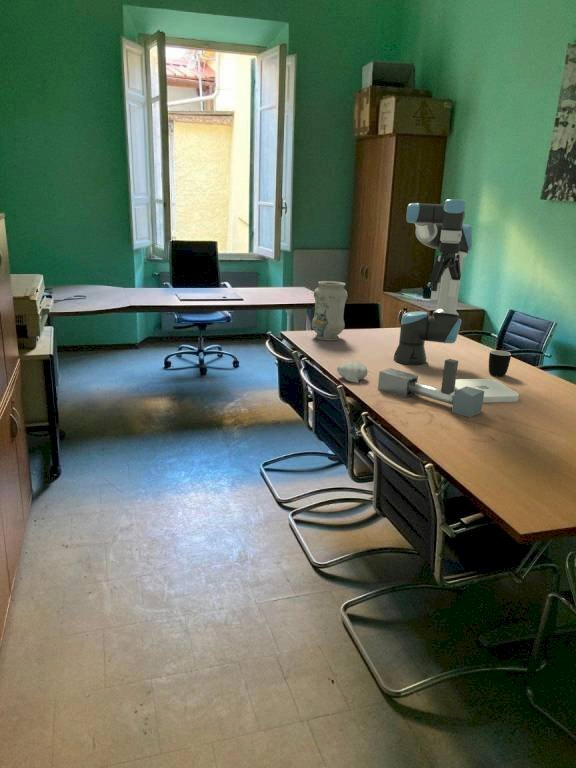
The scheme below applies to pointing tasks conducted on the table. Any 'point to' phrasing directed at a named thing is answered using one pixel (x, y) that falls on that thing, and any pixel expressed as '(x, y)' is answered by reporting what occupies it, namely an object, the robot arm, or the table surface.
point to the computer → (489, 389)
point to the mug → (499, 362)
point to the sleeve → (396, 382)
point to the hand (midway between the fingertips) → (443, 298)
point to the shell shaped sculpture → (352, 371)
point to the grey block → (468, 401)
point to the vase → (329, 310)
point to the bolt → (447, 385)
